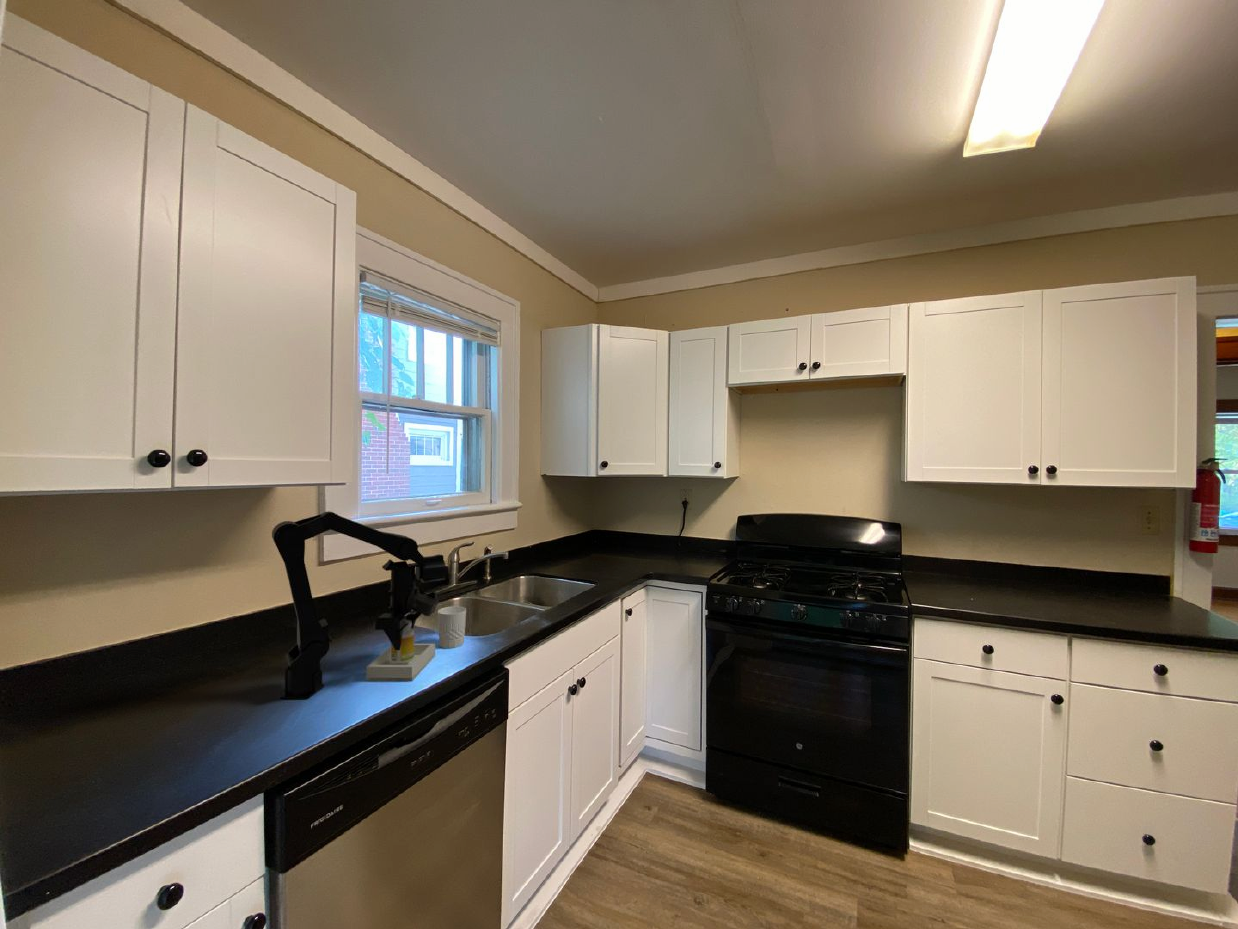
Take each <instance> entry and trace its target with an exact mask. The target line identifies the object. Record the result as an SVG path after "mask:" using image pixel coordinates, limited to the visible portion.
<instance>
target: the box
mask: <svg viewBox="0 0 1238 929" xmlns="http://www.w3.org/2000/svg"><path fill="white" fill-rule="evenodd" d="M435 657H436V643H414V658H413V660H411V661H409V662H406V663H393V662H392V661H391V646H390V647H389V648H388V649H386V650H385V651H383V652H382V653H381V654H380V655H379V656H377V657H376V659H374V660H373V661H371V662H370V663H369V664H368V665H367V666H366V674H365V675H366V678H365V679H366V682H413V681H414V680H415V679H416V678H417V676H418V675H419V674H420V673H421V672H422V671H423V670H424V669H425V668H426V667H427V666H428V664H430V662H432V660H433V659H434V658H435Z"/></svg>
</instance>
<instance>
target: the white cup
mask: <svg viewBox="0 0 1238 929" xmlns="http://www.w3.org/2000/svg"><path fill="white" fill-rule="evenodd" d="M466 620H467V608H466V607H464V606H458V605H456V606H455V605H452V606H445V607H442V608H440V609H438V610H437V627H438V628H437V631H438V642H439V646H440V647H441V648H442V649H456V648H458V647H459V648H460V647H461V646H463V645H464V643H465V634H466V632H465V631H466Z"/></svg>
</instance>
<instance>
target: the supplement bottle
mask: <svg viewBox="0 0 1238 929" xmlns="http://www.w3.org/2000/svg"><path fill="white" fill-rule="evenodd" d="M405 623H409V624H408V625H407V626H406V627H405V628H404V629H403V634H402V642H401V647H400V650H395V649H394V647H393V645H392V643H391V642H390V643H391V646H390V647H391V661H392V662H393V663H406V662H409V661H411V660H413V658H414V644H415V630H414V628H413V629H411V626H412V621H411V620H406V622H405Z"/></svg>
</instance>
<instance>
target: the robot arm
mask: <svg viewBox="0 0 1238 929" xmlns="http://www.w3.org/2000/svg"><path fill="white" fill-rule="evenodd" d="M330 530H331V531H333V532H337V533H339V534H342V535H345V536H348V537H350V538H353V539H356V540H358V541H361V542H364V543H367V544H370V545H372V546H376V547H378V548H379V549H381V550H383V551H384V552H386V553H388V554H390V555H391V556H392V557H395V558H397V559H398V560H400V561H393V560H392V559H389V558H388V560H387V562H386V563H384V565H382V567H381V568H382V569H383V570H385V571H386V572H388V571H390V590H387V596H388V597H389V596H390V605H389V606H388V607H387V609H386V610H387V612H388V613H387V612H384V613H382V614H381V615H379V616H378V617H377V618H376V619H375V620H373V630H375V631H379V630H380V631H384V633H385V635H386V636H387V639H389V642H390V643H392V645H393V647H394V649H395V650H400V647H401V642H402V634H403V629H404V628H405V627H406V626H407V625H408V624H409V623H405V622H406V620H411V621H412V626H411V629H413V630H414V627H415V624H416V622H417V619H418V618H420V617H421V615H423V616H425V617H430V616H431V615H432V614H434V613H435V611H436V608H437V606H438V605H439V604H440V599H439V598H438V597H439V596H438V592H436V591H434V590H432V591H430V592H429V593H427V594H426V593H424V594H423V593H420V588H419V587H418V586H416V579H417V580H420V582H421V583H422V584H423V583H430V582H437V581H444V580H446V578H447V572H448V571H447V570H448V569H447V567H446V562H445V560H444V555H443V554H440V553H439V554H435V555H430V556H424V555H422V553H421V552H420V551H419V545H418V542H417V541H416V539H413V538H411V537H409V536H406V535H402V534H397V533H393V532H392V533H391V532H386V531H381V530H378V529H376V528H373V527H370V526H367V525H365V524H362V523H360V522H357V521H354V520H351V519H349V518H347V517H343V516H341V515H338V513H335V512H334V511H329V510H328V511H324V512H322V513H320V514H316V515H314V516H310V517H307V518H302V519H300V520H297V521H291V520H288V521H287V520H286V521H281V522H280V523H278V524H276V525H275V526H274V527H273V529H272V530H271V538H272V540H273V543H274V544H275V547H276V549H277V551H278V552H279V555H280V557H281V559H282V561H283V563H284V567H285V570H286V575H287V579H288V583H289V584H288V585H289V589H290V593H291V597H292V602H293V606H294V610H295V614H296V620H297V625H296V643H295V645H293V647H292V648H291V649H290V650H289V651H288V652H287V653H286V655H285V656H286V659H287V664H288V666H286V667H284V692H283V693H282V694H281V695H279V699H285V700H286V699H289V700H290V699H294V700H297V699H299V700H300V699H301V700H302V699H303V700H305V699H306V700H307V699H310V698H311V697H312V696H314V695H316V694H317V692H319V691H320V690H322V689H323V688H324V687H325V683H323V669H321V660H322V659H323V657H325V656H326V655H327V653H328V652H329V651H330V643H332V642H333V639H332V638H331V636H330V632H329V630H330V628H329V624H328V622H327V621H326V619H325V618H323V619H320V620H319V619H318V617H317V612H316V607H315V602H314V599H313V594H312V590H311V585H310V580H309V576H308V571H307V568H306V563H305V555H306V554H305V553H306V540H309V539H311V538H314V537H317V536H319V535H321V534H323V533H325V532H327V531H330ZM409 560H410V561H412V562H413V563H408V562H407V561H409Z"/></svg>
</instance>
